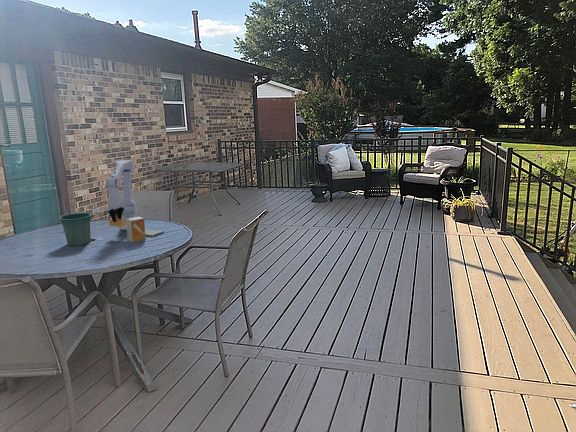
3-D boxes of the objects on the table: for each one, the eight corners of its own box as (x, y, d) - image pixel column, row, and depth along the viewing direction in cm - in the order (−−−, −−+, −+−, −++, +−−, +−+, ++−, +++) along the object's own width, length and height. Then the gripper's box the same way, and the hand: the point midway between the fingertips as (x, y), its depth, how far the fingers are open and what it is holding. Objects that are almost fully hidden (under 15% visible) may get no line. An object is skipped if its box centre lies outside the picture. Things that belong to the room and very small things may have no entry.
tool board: (127, 234, 269) (127, 232, 269) (139, 230, 278) (138, 228, 278) (152, 237, 261) (152, 235, 261) (164, 233, 270) (163, 231, 270)
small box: (132, 242, 250) (130, 220, 247) (127, 240, 254) (125, 218, 251) (145, 239, 255) (144, 218, 252) (140, 237, 260) (138, 216, 256)
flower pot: (82, 247, 243) (78, 219, 239) (56, 246, 246) (52, 218, 243) (100, 239, 259) (97, 212, 255) (75, 238, 262) (72, 212, 258)
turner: (106, 226, 258) (106, 219, 257) (116, 223, 264) (115, 217, 263) (125, 229, 251) (124, 222, 251) (134, 226, 258) (134, 219, 257)
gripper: (109, 200, 247) (112, 224, 250) (129, 196, 260) (131, 218, 263) (100, 200, 250) (103, 223, 253) (120, 195, 263) (122, 218, 266)
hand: (117, 221), depth 258 cm, fingers closed on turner, 3 cm apart
